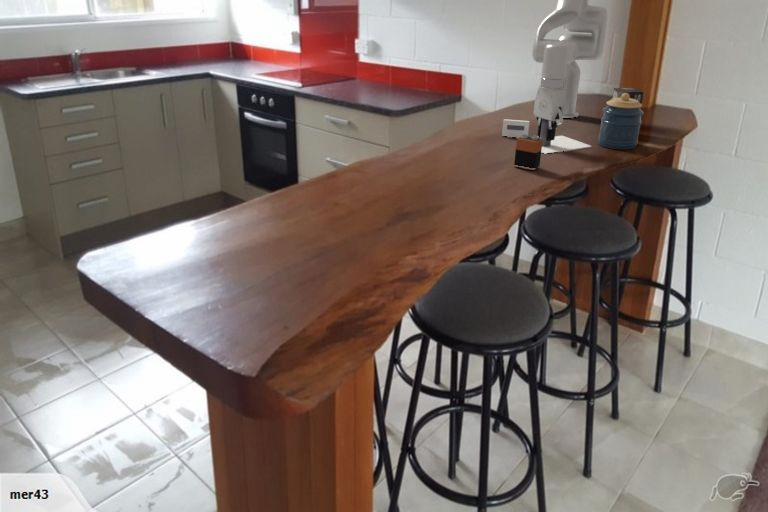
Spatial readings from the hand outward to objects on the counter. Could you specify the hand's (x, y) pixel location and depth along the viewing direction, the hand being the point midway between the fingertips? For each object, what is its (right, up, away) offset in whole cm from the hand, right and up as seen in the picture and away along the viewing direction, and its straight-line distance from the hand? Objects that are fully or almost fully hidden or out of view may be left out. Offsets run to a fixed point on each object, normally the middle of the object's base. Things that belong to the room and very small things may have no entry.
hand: (545, 138), depth 207 cm
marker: (0, -2, +1) cm, 2 cm away
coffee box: (+32, +4, +16) cm, 36 cm away
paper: (+4, -2, +3) cm, 5 cm away
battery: (-11, -13, -19) cm, 26 cm away
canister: (+25, -2, +4) cm, 26 cm away
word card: (-8, +3, +12) cm, 14 cm away
